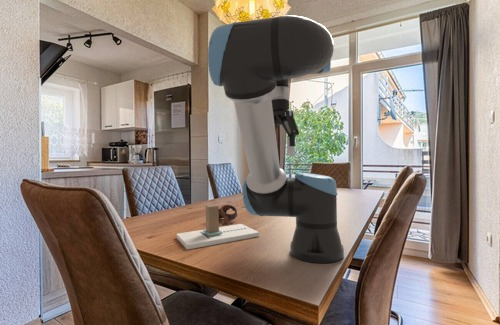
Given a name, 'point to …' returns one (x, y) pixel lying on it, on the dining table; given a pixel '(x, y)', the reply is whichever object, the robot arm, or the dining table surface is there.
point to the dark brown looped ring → (224, 215)
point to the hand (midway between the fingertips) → (279, 156)
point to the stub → (212, 220)
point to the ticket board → (216, 236)
